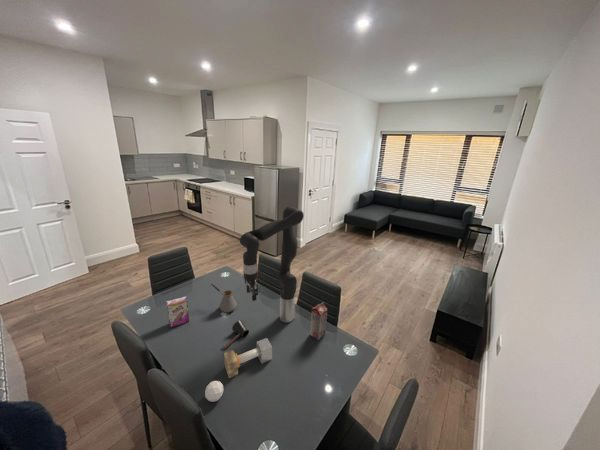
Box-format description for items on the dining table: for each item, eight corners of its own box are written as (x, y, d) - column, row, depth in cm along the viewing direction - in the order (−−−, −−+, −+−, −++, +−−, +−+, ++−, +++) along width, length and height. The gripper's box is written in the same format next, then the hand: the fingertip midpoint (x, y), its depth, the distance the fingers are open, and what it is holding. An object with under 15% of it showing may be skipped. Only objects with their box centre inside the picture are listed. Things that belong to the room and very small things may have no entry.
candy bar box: (170, 328, 147) (166, 305, 142) (169, 323, 151) (165, 301, 146) (189, 322, 153) (187, 299, 148) (188, 317, 157) (185, 295, 152)
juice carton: (325, 334, 148) (328, 304, 141) (318, 340, 143) (321, 309, 136) (316, 329, 152) (319, 299, 145) (309, 334, 147) (312, 303, 141)
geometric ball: (219, 401, 109) (227, 395, 105) (202, 406, 104) (209, 400, 100) (218, 382, 114) (225, 376, 110) (201, 386, 109) (208, 380, 105)
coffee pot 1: (240, 307, 169) (239, 288, 164) (228, 316, 159) (227, 297, 155) (218, 297, 178) (217, 279, 174) (205, 305, 169) (204, 287, 164)
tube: (263, 349, 133) (263, 339, 131) (268, 358, 127) (268, 348, 125) (229, 362, 124) (229, 352, 122) (233, 373, 118) (233, 362, 116)
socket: (233, 362, 126) (233, 349, 123) (238, 374, 120) (237, 360, 117) (225, 366, 123) (224, 353, 121) (228, 378, 117) (228, 364, 115)
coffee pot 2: (242, 325, 151) (250, 333, 147) (216, 344, 139) (225, 354, 135) (241, 317, 148) (250, 325, 143) (215, 336, 136) (224, 346, 131)
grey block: (266, 350, 135) (266, 337, 132) (272, 359, 129) (272, 346, 126) (256, 354, 132) (256, 341, 129) (261, 363, 126) (261, 350, 123)
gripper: (262, 274, 124) (262, 301, 129) (252, 263, 136) (253, 287, 141) (248, 278, 120) (249, 305, 125) (239, 266, 132) (240, 291, 137)
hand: (251, 296), depth 133 cm, fingers open, 8 cm apart
